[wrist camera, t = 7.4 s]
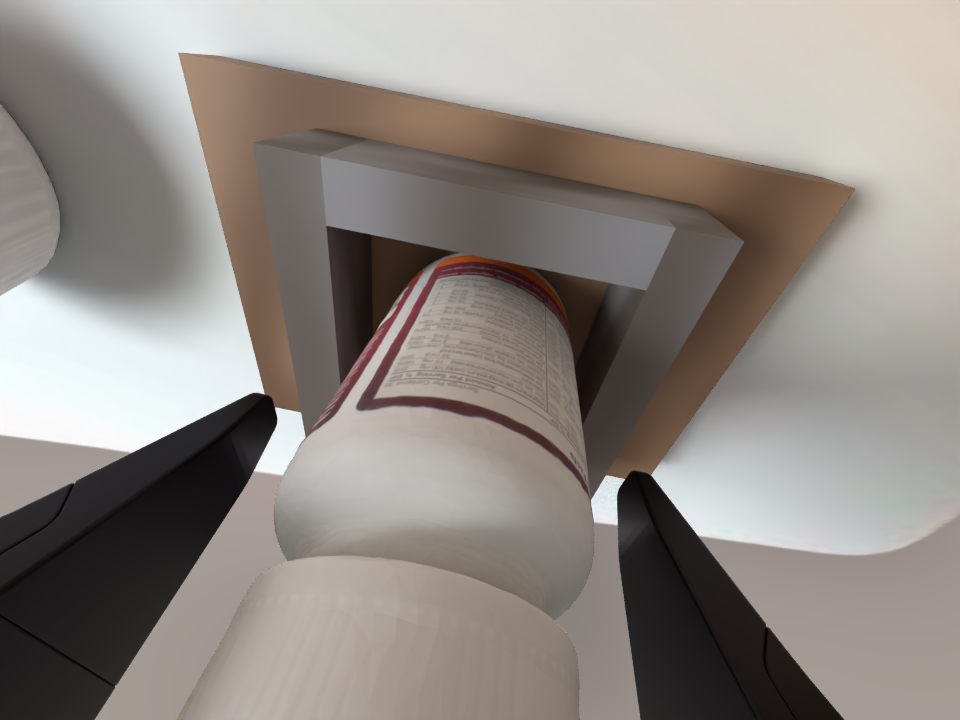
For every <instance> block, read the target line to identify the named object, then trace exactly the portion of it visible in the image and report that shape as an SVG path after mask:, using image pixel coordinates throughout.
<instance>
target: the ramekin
mask: <svg viewBox="0 0 960 720" xmlns="http://www.w3.org/2000/svg"><path fill="white" fill-rule="evenodd" d="M60 223H61V222H60V210H59V205H58V201H57V197H56V194H55V191H54V188H53V186H52V183H51V181H50V178H49V176H48V174H47V172H46V171H45V169H44V166H43V164H42V162H41V160H40V158H39V157H38V155H37V153H36V152H35V150H34V148H33V147H32V145H31V144H30V142H29V141H28V139H27V138H26V136H25V135H24V134H23V132H22V131H21V129H20V128H19V127H18V125H17V124H16V122H15V121H14V120H13V118H12V117H11V116H10V115H9V114H8V112H7V111H6V110H5V109H4V107H3V106H2V105H1V104H0V296H1V295H2V294H4V293H6V292H7V291H9V290H11V289H12V288H14V287H16V286H18V285H19V284H21V283H23V282H24V281H26V280H28V279H30V278H31V277H33V276H34V275H36V274H37V273H38V272H39V271H40V270H42V269H44V268H45V267H46V266H47V265H48V263H49V261H50V259H51V258H52V257H53V256H54V252H55V249H56V247H57V243H58V238H59V235H60Z"/></svg>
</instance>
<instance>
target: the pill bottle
mask: <svg viewBox="0 0 960 720" xmlns="http://www.w3.org/2000/svg"><path fill="white" fill-rule="evenodd" d="M274 524H275V531H276V535H277V539H278V542H279V545H280V547H281V550H282V552H283V554H284V556H285V557H286V559H287V562H284V563H281V564H278V565H276V566H273V567H271V568H269V569H267V570H266V571H264V572H263V573H261V574H260V575H259V576H258V577H257V579H255V581H254V582H253V583H252V585H251V586H250V588H249V590H248V592H247V593H246V595H245V597H244V598H243V600H242V602H241V604H240V605H239V607H238V609H237V611H236V613H235V614H234V616H233V619H232V621H231V624H230V626H229V628H228V630H227V632H226V634H225V636H224V637H223V639H222V641H221V642H220V644H219V646H218V648H217V650H216V651H215V653H214V655H213V656H212V658H211V660H210V662H209V664H208V665H207V667H206V669H205V670H204V672H203V674H202V675H201V677H200V679H199V681H198V682H197V684H196V686H195V687H194V689H193V691H192V693H191V695H190V696H189V698H188V700H187V702H186V704H185V705H184V707H183V709H182V711H181V713H180V714H179V716H178V718H177V720H579V672H578V658H577V653H576V650H575V647H574V645H573V643H572V641H571V639H570V638H569V635H568V634H567V633H566V632H565V630H564V629H563V628H562V627H561V626H559V625H558V624H557V623H556V622H555V621H554V620H555V619H556V618H558V617H559V616H561V615H562V614H563V613H564V612H565V611H566V610H567V609H568V608H569V607H570V606H571V605H572V604H573V602H574V601H575V600H576V599H577V597H578V596H579V594H580V593H581V591H582V589H583V588H584V586H585V584H586V581H587V579H588V576H589V573H590V570H591V566H592V561H593V554H594V520H593V514H592V507H591V498H590V489H589V480H588V470H587V461H586V452H585V444H584V436H583V429H582V422H581V414H580V407H579V398H578V391H577V383H576V376H575V368H574V358H573V351H572V342H571V333H570V328H569V324H568V318H567V315H566V312H565V308H564V306H563V304H562V302H561V300H560V298H559V296H558V294H557V293H556V291H555V290H554V289H553V287H552V286H551V285H550V284H549V283H548V282H547V280H546V279H545V278H544V277H542V276H541V275H540V274H539V273H538V272H537V271H535V270H534V269H533V268H531V267H528V266H523V265H518V264H513V263H508V262H503V261H498V260H493V259H489V258H484V257H479V256H474V255H469V254H464V253H457V254H453V255H449V256H446V257H443V258H441V259H439V260H436V261H434V262H432V263H431V264H429V265H427V266H426V267H424V268H423V269H422V270H421V271H419V272H418V273H417V274H416V275H415V276H414V277H413V278H412V279H411V280H410V281H409V283H408V284H407V285H406V287H405V288H404V290H403V291H402V292H401V294H400V295H399V297H398V298H397V300H396V301H395V302H394V304H393V306H392V308H391V310H390V311H389V313H388V314H387V316H386V317H385V319H384V320H383V321H382V323H381V324H380V326H379V327H378V329H377V331H376V333H375V334H374V336H373V338H372V339H371V340H370V342H369V343H368V345H367V346H366V348H365V349H364V351H363V352H362V354H361V355H360V357H359V358H358V360H357V361H356V363H355V364H354V366H353V367H352V369H351V371H350V372H349V374H348V375H347V377H346V378H345V380H344V381H343V383H342V384H341V386H340V387H339V389H338V390H337V392H336V393H335V395H334V396H333V398H332V399H331V401H330V402H329V404H328V405H327V407H326V408H325V410H324V411H323V413H322V414H321V416H320V417H319V419H318V420H317V422H316V423H315V425H314V426H313V428H312V429H311V431H310V432H309V434H308V435H307V436H306V437H305V439H304V440H303V441H302V443H301V444H300V445H299V447H298V449H297V452H296V454H295V456H294V457H293V459H292V461H291V462H290V464H289V465H288V467H287V469H286V471H285V473H284V475H283V477H282V479H281V482H280V484H279V486H278V490H277V494H276V499H275V506H274Z"/></svg>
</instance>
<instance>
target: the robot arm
mask: <svg viewBox="0 0 960 720" xmlns="http://www.w3.org/2000/svg"><path fill="white" fill-rule="evenodd" d="M276 425H277V415H276V411H275V407H274V402H273V399H272V397H271V396H269V395H265V394H260V393H252V394H249V395H247V396H245V397H243V398H241V399H239V400H237V401H235V402H233V403H231V404H229V405H227V406H225V407H223V408H221V409H219V410H217V411H215V412H213V413H211V414H209V415H207V416H205V417H203V418H201V419H199V420H197V421H195V422H193V423H191V424H189V425H187V426H185V427H183V428H181V429H179V430H177V431H175V432H173V433H171V434H169V435H167V436H165V437H163V438H161V439H159V440H157V441H155V442H153V443H151V444H149V445H147V446H145V447H143V448H141V449H139V450H137V451H135V452H133V453H131V454H129V455H127V456H125V457H123V458H121V459H119V460H117V461H115V462H113V463H111V464H109V465H107V466H105V467H103V468H101V469H99V470H97V471H95V472H93V473H91V474H89V475H87V476H85V477H83V478H81V479H79V480H77V481H76V482H75V484H74V483H71V484H69V485H67V486H65V487H62V488H60V489H58V490H57V491H55V492H53V493H50V494H49V495H47V496H44V497H42V498H40V499H38V500H36V501H34V502H32V503H30V504H28V505H26V506H24V507H22V508H20V509H17V510H15V511H13V512H11V513H9V514H7V515H5V516H2V517H0V720H94V719H95V718H96V717H97V715H98V713H99V712H100V710H101V709H102V707H103V706H104V704H105V703H106V701H107V700H108V698H109V697H110V695H111V693H112V692H113V690H114V689H115V685H117V684H118V682H119V681H120V679H121V678H122V676H123V674H124V673H125V671H126V670H127V668H128V667H129V665H130V664H131V662H132V661H133V659H134V657H135V656H136V654H137V653H138V651H139V650H140V648H141V647H142V645H143V644H144V642H145V640H146V639H147V637H148V636H149V634H150V633H151V631H152V629H153V628H154V627H155V625H156V623H157V622H158V620H159V619H160V617H161V616H162V614H163V613H164V611H165V610H166V608H167V606H168V605H169V603H170V602H171V600H172V599H173V597H174V596H175V594H176V593H177V591H178V589H179V588H180V586H181V585H182V583H183V582H184V580H185V579H186V577H187V576H188V574H189V572H190V571H191V569H192V568H193V566H194V565H195V563H196V562H197V560H198V559H199V557H200V556H201V554H202V552H203V551H204V549H205V548H206V546H207V545H208V543H209V541H210V540H211V539H212V537H213V535H214V534H215V532H216V531H217V529H218V528H219V526H220V524H221V523H222V521H223V520H224V518H225V517H226V515H227V514H228V512H229V511H230V509H231V508H232V506H233V505H234V503H235V501H236V500H237V498H238V497H239V495H240V494H241V492H242V491H243V489H244V487H245V486H246V484H247V483H248V480H249V479H250V477H251V475H252V473H253V471H254V469H255V467H256V465H257V463H258V461H259V460H260V458H261V456H262V454H263V452H264V450H265V448H266V446H267V444H268V442H269V440H270V438H271V436H272V434H273V432H274V430H275V428H276ZM617 511H618V549H619V563H620V572H621V579H622V586H623V594H624V601H625V608H626V616H627V623H628V631H629V638H630V645H631V652H632V659H633V667H634V674H635V682H636V688H637V696H638V704H639V711H640V718H641V720H844V719H843V718H842V717H841V715H840V714H839V713H838V712H837V711H836V710H835V708H834V707H833V706H832V705H831V704H830V703H829V701H828V700H827V699H826V698H825V697H824V695H823V694H822V693H821V692H820V691H819V689H818V688H817V687H816V686H815V685H814V684H813V682H812V681H811V680H810V679H809V678H808V676H807V675H806V674H805V673H804V671H803V670H802V669H801V668H800V666H799V665H798V664H797V663H796V661H795V660H794V659H793V658H792V656H791V655H790V654H789V653H788V651H787V650H786V649H785V648H784V646H783V645H782V644H781V642H780V641H779V640H778V638H777V637H776V636H775V635H774V633H773V632H772V631H771V629H770V628H769V627H766V624H765V622H764V621H763V619H762V618H761V617H760V615H759V614H758V613H757V612H756V610H755V609H754V608H753V606H752V605H751V604H750V603H749V601H748V600H747V599H746V597H745V596H744V595H743V593H742V592H741V591H740V590H739V588H738V587H737V586H736V585H735V583H734V582H733V581H732V579H731V578H730V577H729V576H728V574H727V573H726V571H725V570H724V569H723V568H722V566H721V565H720V564H719V562H718V561H717V560H716V559H715V557H714V556H713V555H712V553H711V552H710V551H709V550H708V548H707V547H706V546H705V544H704V543H703V542H702V541H701V539H700V538H699V537H698V535H697V534H696V533H695V531H694V530H693V529H692V528H691V526H690V525H689V524H688V522H687V521H686V520H685V519H684V517H683V516H682V515H681V513H680V512H679V511H678V509H677V508H676V507H675V506H674V504H673V503H672V502H671V500H670V499H669V498H668V497H667V495H666V494H665V493H664V491H663V490H662V489H661V488H660V486H659V485H658V484H657V482H656V481H655V480H654V478H653V477H652V476H651V475H650V474H648V473H645V472H640V471H635V470H633V471H631V472H630V473H629V474H628V476H627V477H626V479H625V480H624V482H623V484H622V485H621V487H620V488H619V491H618V495H617Z"/></svg>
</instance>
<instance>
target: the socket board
mask: <svg viewBox="0 0 960 720" xmlns="http://www.w3.org/2000/svg"><path fill="white" fill-rule="evenodd" d="M179 57H180V61H181V65H182V69H183V73H184V77H185V81H186V85H187V89H188V93H189V97H190V101H191V105H192V109H193V113H194V116H195V120H196V124H197V128H198V132H199V136H200V140H201V144H202V148H203V152H204V156H205V160H206V164H207V168H208V172H209V176H210V180H211V183H212V187H213V191H214V195H215V199H216V203H217V207H218V211H219V215H220V219H221V223H222V227H223V231H224V235H225V239H226V243H227V247H228V250H229V254H230V258H231V262H232V266H233V270H234V274H235V278H236V282H237V286H238V290H239V294H240V298H241V302H242V306H243V310H244V314H245V317H246V321H247V325H248V329H249V333H250V337H251V341H252V345H253V349H254V353H255V357H256V361H257V365H258V369H259V373H260V377H261V381H262V384H263V388H264V392H265V395H269V396H271V397H272V399H273V402H274V407H277V408H282V409H287V410H292V411H297V412H301V414H302V419H303V425H304V430H305V436H307V435H308V434H309V432H310V431H311V429H312V428H313V426H314V425H315V423H316V422H317V420H318V419H319V417H320V416H321V414H322V413H323V411H324V410H325V408H326V407H327V405H328V404H329V402H330V401H331V399H332V398H333V396H334V395H335V393H336V392H337V390H338V389H339V387H340V386H341V384H342V383H343V381H344V380H345V378H346V377H347V375H348V374H349V372H350V371H351V369H352V367H353V366H354V364H355V363H356V361H357V360H358V358H359V357H360V355H361V354H362V352H363V351H364V349H365V348H366V346H367V345H368V343H369V342H370V340H371V339H372V338H373V336H374V334H375V333H376V331H377V329H378V327H379V326H380V324H381V323H382V321H383V320H384V319H385V317H386V316H387V314H388V313H389V311H390V310H391V308H392V306H393V304H394V302H395V301H396V300H397V298H398V297H399V295H400V294H401V292H402V291H403V290H404V288H405V287H406V285H407V284H408V283H409V281H410V280H411V279H412V278H413V277H414V276H415V275H416V274H417V273H418V272H419V271H421V270H422V269H423V268H424V267H426V266H427V265H429V264H431V263H432V262H434V261H436V260H439V259H441V258H443V257H446V256H449V255H453V254H457V253H464V254H469V255H474V256H479V257H484V258H489V259H493V260H498V261H503V262H508V263H513V264H518V265H523V266H528V267H531V268H533V269H534V270H535V271H537V272H538V273H539V274H540V275H541V276H542V277H544V278H545V279H546V280H547V282H548V283H549V284H550V285H551V286H552V287H553V289H554V290H555V291H556V293H557V294H558V296H559V298H560V300H561V302H562V304H563V306H564V308H565V312H566V315H567V318H568V324H569V328H570V333H571V342H572V351H573V358H574V368H575V376H576V383H577V391H578V398H579V407H580V414H581V422H582V429H583V436H584V444H585V452H586V461H587V470H588V480H589V489H590V498H591V499H592V497H593V496H594V494H595V492H596V491H597V489H598V487H599V486H600V484H601V482H602V481H603V479H604V477H605V476H606V475H609V476H614V477H619V478H624V479H626V477H627V476H628V474H629V473H630V472H631V471H633V470H635V471H640V472H645V473H648V474H650V475H651V474H652V473H653V471H654V470H655V469H656V467H657V466H658V464H659V463H660V462H661V460H662V459H663V457H664V456H665V455H666V453H667V452H668V450H669V449H670V448H671V446H672V445H673V443H674V442H675V441H676V439H677V438H678V436H679V435H680V434H681V432H682V431H683V429H684V428H685V427H686V425H687V424H688V422H689V421H690V420H691V418H692V417H693V415H694V414H695V413H696V411H697V410H698V408H699V407H700V406H701V404H702V403H703V401H704V400H705V399H706V397H707V396H708V394H709V393H710V392H711V390H712V389H713V387H714V386H715V385H716V383H717V382H718V380H719V379H720V378H721V376H722V375H723V373H724V372H725V371H726V369H727V368H728V366H729V365H730V364H731V362H732V361H733V359H734V358H735V357H736V355H737V354H738V352H739V351H740V350H741V348H742V347H743V345H744V344H745V343H746V341H747V340H748V338H749V337H750V336H751V334H752V333H753V331H754V330H755V329H756V327H757V326H758V324H759V323H760V322H761V320H762V319H763V317H764V316H765V315H766V313H767V312H768V310H769V309H770V308H771V306H772V305H773V303H774V302H775V301H776V299H777V298H778V296H779V295H780V294H781V292H782V291H783V289H784V288H785V287H786V285H787V284H788V282H789V281H790V280H791V278H792V277H793V275H794V274H795V273H796V271H797V270H798V268H799V267H800V266H801V264H802V263H803V261H804V260H805V259H806V257H807V256H808V254H809V253H810V252H811V250H812V249H813V247H814V246H815V245H816V243H817V242H818V240H819V239H820V238H821V236H822V235H823V233H824V232H825V231H826V229H827V228H828V226H829V225H830V224H831V222H832V221H833V219H834V218H835V217H836V215H837V214H838V212H839V211H840V210H841V208H842V207H843V205H844V204H845V203H846V201H847V200H848V199H849V197H850V196H851V194H852V193H853V192H854V190H855V189H854V188H851V187H848V186H845V185H842V184H840V183H837V182H834V181H831V180H828V179H825V178H822V177H818V176H813V175H808V174H803V173H798V172H793V171H788V170H783V169H778V168H773V167H768V166H763V165H758V164H753V163H748V162H743V161H738V160H733V159H728V158H723V157H718V156H714V155H709V154H704V153H699V152H694V151H689V150H684V149H679V148H674V147H669V146H664V145H659V144H654V143H649V142H644V141H639V140H634V139H629V138H624V137H619V136H614V135H609V134H604V133H599V132H594V131H589V130H584V129H579V128H574V127H569V126H564V125H559V124H554V123H549V122H544V121H539V120H535V119H530V118H525V117H520V116H515V115H510V114H505V113H500V112H495V111H490V110H485V109H480V108H475V107H470V106H465V105H460V104H455V103H450V102H445V101H440V100H435V99H430V98H425V97H420V96H415V95H410V94H405V93H400V92H395V91H390V90H385V89H380V88H375V87H370V86H365V85H360V84H356V83H351V82H346V81H341V80H336V79H331V78H326V77H321V76H316V75H311V74H306V73H301V72H296V71H291V70H286V69H281V68H276V67H271V66H266V65H261V64H256V63H251V62H246V61H241V60H236V59H231V58H226V57H221V56H215V55H201V54H188V53H179Z"/></svg>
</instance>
